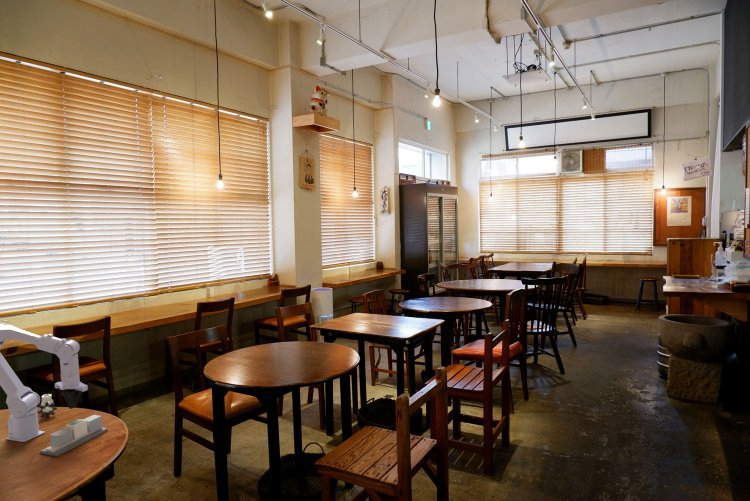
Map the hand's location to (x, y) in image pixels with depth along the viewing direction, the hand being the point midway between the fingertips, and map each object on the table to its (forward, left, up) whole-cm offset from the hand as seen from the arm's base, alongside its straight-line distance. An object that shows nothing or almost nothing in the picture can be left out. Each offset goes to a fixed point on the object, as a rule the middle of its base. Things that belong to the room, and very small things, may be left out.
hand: (72, 407), depth 177 cm
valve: (-28, +10, -10) cm, 31 cm away
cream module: (+8, -5, -8) cm, 12 cm away
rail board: (+8, -6, -9) cm, 14 cm away
